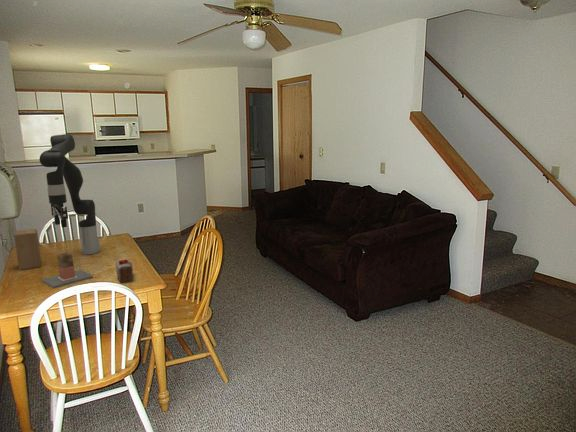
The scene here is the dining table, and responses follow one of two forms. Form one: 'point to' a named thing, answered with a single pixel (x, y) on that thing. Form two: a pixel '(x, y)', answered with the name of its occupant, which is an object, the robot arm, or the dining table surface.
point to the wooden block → (27, 249)
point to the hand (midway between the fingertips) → (61, 225)
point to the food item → (124, 271)
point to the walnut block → (65, 260)
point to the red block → (66, 272)
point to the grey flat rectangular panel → (57, 281)
